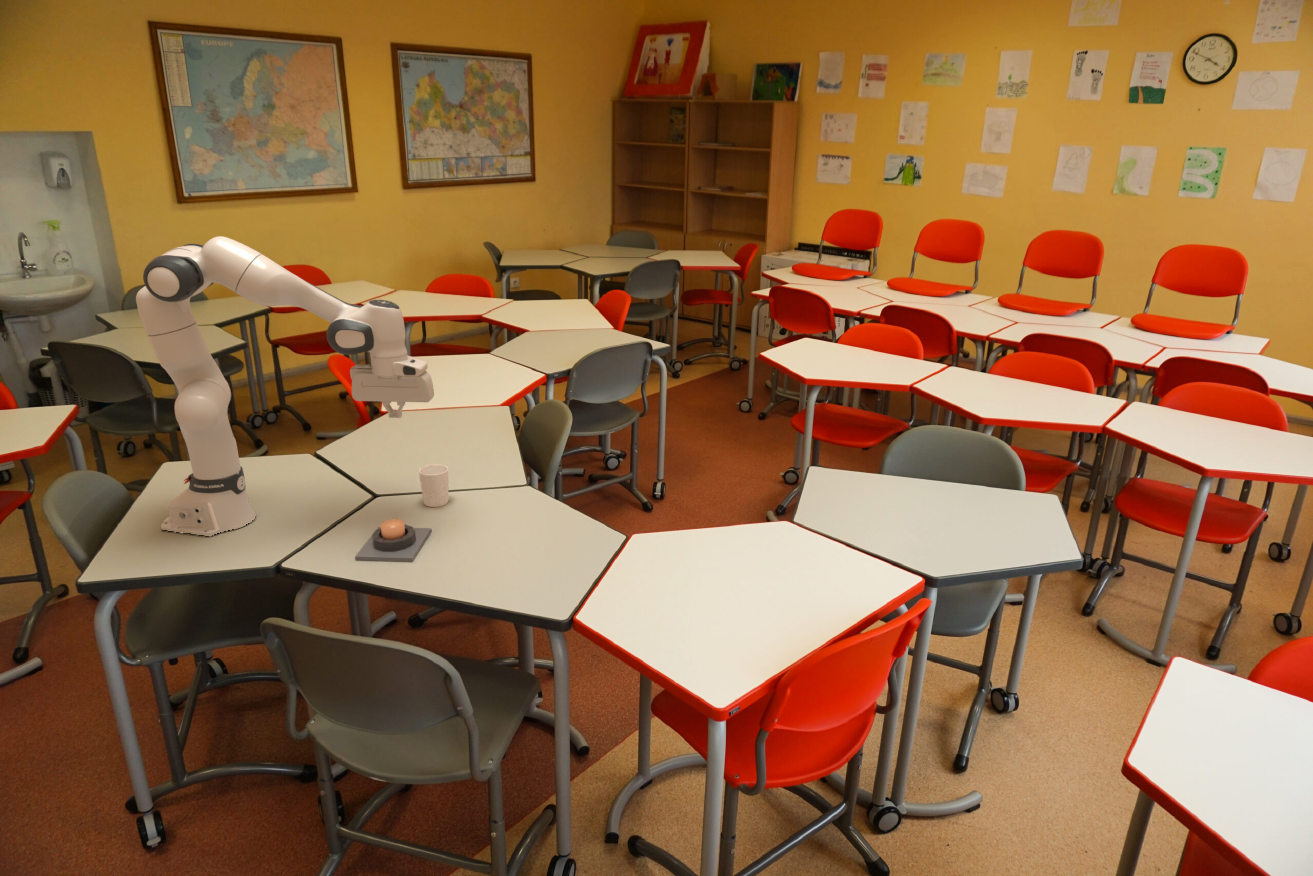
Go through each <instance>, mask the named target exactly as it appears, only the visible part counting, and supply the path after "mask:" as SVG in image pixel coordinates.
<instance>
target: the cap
mask: <svg viewBox="0 0 1313 876" xmlns="http://www.w3.org/2000/svg"><path fill="white" fill-rule="evenodd" d="M404 524H405V522H404V520H403V519H399V518H391V519H387V520H384V521H383V522H381V523H380V527H381V533H382V539H385V540H394V539H398V538H402V537H404V536H405V526H404Z"/></svg>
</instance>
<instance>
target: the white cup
mask: <svg viewBox="0 0 1313 876" xmlns="http://www.w3.org/2000/svg"><path fill="white" fill-rule="evenodd" d="M418 475H419V483H420V488H421V495H422V497H423V504H424V505H425V506H426V507H429V508H438V507H443V506H445V505H447V504H448V503H449V487H450V485H449V482H450V481H449V467H448V466H446V465H444V464H438V463H437V464H436V463H435V464H427V465H425V466H422V467H420V468H419V470H418Z"/></svg>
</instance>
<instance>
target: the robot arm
mask: <svg viewBox="0 0 1313 876" xmlns="http://www.w3.org/2000/svg"><path fill="white" fill-rule="evenodd" d="M142 279H143V282H144V286H143V287H142V288H140V290H138V292H137V293H136V295H135V303H136V305H137V307H136V308H137V311H138V315H139V318H140V322H141V324H142V327H143V329H144V331H145V334H146V337H147V339H148V341H149V343H150V345H151V348H152V349H153V351H154V354H155V356H156V358H157V361H158V364H159V365H160V366H161V368H162V369H164V370H165V371H166V373H167V374H168V376H169V377H170V378H171V380H172V381H173V383H174V384H175V386H176V389H177V391H178V396H177V397H176V399H175V401H174V414H175V419H176V421H177V423H178V427H179V428H180V432H181V434H182V437H183V439H184V441H185V444H186V448H187V451H188V456H189V460H190V461H189V462H190V465H191V466H190V467H191V471H192V473H190V474H189V475H188V476H187V477H186V478H184V479H183V481H184V483H183V484H185V485H187V483H189V484H188V485H189V486H188V488H186V489H185V490H183V492H181V493H180V494H179V495H178V496H177V497H176V498H174V499H173V500H172V501H171V503H170V506H169V508H168V509H169V511H168V514H169V515H168V517H166V518H165V519H164V520H163V521H162V523H161V525H160V530H161V529H162V530H170V531H176V532H183V533H192V534H199V535H205V536H209V537H212V536H211V535H213V536H215V535H214V534H216V535H218V534H217V533H219V534H221V533H224V531H226V532H229V531H228V530H230V531H233V530H232V529H234V530H238V529H239V528H242V527H244V526H247V525H249V524H250V523H252V522H253V521H254V520H255V519H256V518H255V516H256V517H257V513H256V511H255V510H254V508H253V505H252V504H251V501H250V498H249V496H248V493H247V489H246V488H247V487H246V486H247V485H246V479H245V478H246V477H245V473H244V470H243V467H242V466H241V463H240V457H239V452H238V446H237V445H238V444H237V441H236V438H235V436H234V433H233V431H232V427H231V423H230V421H229V415H228V410H229V408H228V407H229V404H230V401H231V398H232V392H231V388H230V385H229V383H228V381H227V379H226V378H225V377H224V375H223V373H222V371H221V369H220V368H219V366H218V364H217V362H216V361H215V360H214V358H213V356H212V354H211V353H210V350H209V348H208V346H207V344H206V341H205V340H204V336H203V334H202V332H201V330H200V327H199V325H198V322H197V320H196V318H195V315H194V314H193V311H192V308H191V303H190V302H191V298H192V297H195V296H196V295H198V294H200V293H202V292H203V291H204V290H205V289H207V288H209V287H211V286H212V285H213V284H219V285H222V286H224V287H226V288H227V289H229V290H231V291H233V292H234V293H235V294H237V295H239V296H240V297H242V298H243V299H246V300H248V301H250V302H253V303H255V304H257V305H261V306H264V307H277V306H291V307H292V306H293V307H298V308H301V309H304V310H305V311H308V312H309V313H312V314H313V315H315V316H317V317H320V318H321V319H323V320H325V321H326V322H328V323H329V325H328V327H327V330H326V340H327V342H328V344H329V346H330V347H331V349H332V350H333V351H335V352H337V353H338V354H341V355H343V356H351V355H357V354H363V353H369V354H370V355H369V356H370V364H360V363H359V364H355V365H353V366H352V367H351V368H350V370H349V373H350V380H351V396H352V398H353V400H354V401H356V402H382V406H383V407H384V409H385V410H386V411H387V413H388V418H392V419H401V418H402V417H403V408H404V407H405V405H406V403H430V401H432V400H433V398H434V397H435V389H434V384H433V379H432V376H431V374H430V373H429V372H428V371H427V370H428V366H429V365H428V362H427V361H426V360H422V359H418V358H416V357H414V356H410V355H408V350H407V349H408V348H407V347H406V344H405V342H406V341H405V340H406V328H405V321H404V317H403V314H402V310H401V308H400V307H399V305H398V304H397V303H395V302H392V301H390V300H385V299H372V300H369V301H368V302H367V303H365V304H364V305H361V304H359V305H358V304H354V303H350V302H349V303H348V302H346V301H344V300H342V299H340V298H338V297H336V296H334V295H332V294H331V293H329V292H327V291H325V290H324V289H321V288H319V287H318V286H316V285H314V284H312V283H311V282H308V281H306V280H304V279H303V278H301V277H299V276H298V275H296V274H294V273H292V272H291V271H289V270H288V269H286V268H284V267H283V266H281V265H280V264H278V263H277V262H276V261H273V259H270V258H269V257H267V256H265V255H264V254H263V253H261V252H259V251H258V250H255V249H254V248H251V246H250V247H249V246H248V245H246V244H244V243H241V242H239V241H237V240H235V239H233V238H230V237H226V236H220V235H219V236H214V237H213V238H211V239H209V240H207V241H206V242H205V243H204V244H199V243H187V244H184V245H182V246H178V247H174V248H171V249H168V250H167V251H166V252H165V253H163V254H161V255H159V256H156V257H154V258H153V259H152V260H150V261H149V262H148V264H147V265H146V266H145V268H144V270H143V276H142ZM392 402H394V403H395V402H396V404H397V406H398V408H397V409H394V408H393V407H392V405H391V404H392ZM252 520H253V521H252ZM248 523H249V524H248ZM246 524H247V525H246ZM162 530H161V531H162ZM176 532H175V533H176ZM220 532H221V533H220ZM183 533H182V534H183ZM205 536H204V537H205Z"/></svg>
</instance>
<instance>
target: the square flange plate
mask: <svg viewBox="0 0 1313 876" xmlns="http://www.w3.org/2000/svg"><path fill="white" fill-rule="evenodd" d="M404 526H405V536H404V537H402V538H398V539H394V540H385V539H382V533H381V526H377V528H376V529H375V530H374V531H373V533H372V534H371V536H369V538H368V539H367V540H366V542H365V543H364V544H363V546H361V548H360V549H359V551H358V552H357V553H356V555H355V556H354V559H355V561H367V562H368V561H370V562H402V563H403V562H404V563H405V562H406V563H409V562H410V563H413V562H414V561H415V559H416V557H417V555H418V554H419V553H420V551H421V549H422V548H423V547H424V545H425V544H426V542H427V539H429V536H431V534H432V531H433V530H432V528H431V527H414V526H411V525H408V524H405V523H404Z"/></svg>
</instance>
